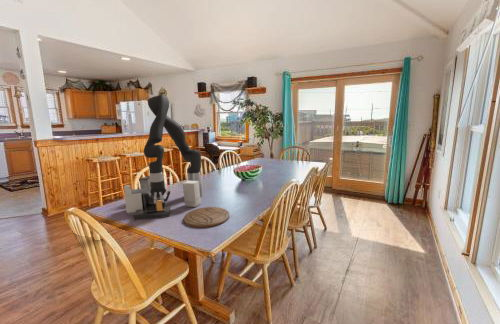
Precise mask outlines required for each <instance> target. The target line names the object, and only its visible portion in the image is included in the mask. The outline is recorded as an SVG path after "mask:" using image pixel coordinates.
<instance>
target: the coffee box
mask: <svg viewBox="0 0 500 324" xmlns="http://www.w3.org/2000/svg"><path fill="white" fill-rule="evenodd" d="M138 180H139V187H140V188H139V189H144V188H151V185H150V175H146V176H143V177H141V178H139V179H138Z"/></svg>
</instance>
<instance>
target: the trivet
mask: <svg viewBox="0 0 500 324" xmlns="http://www.w3.org/2000/svg"><path fill="white" fill-rule="evenodd" d="M229 218H230V212H229V211H228V210H227V209H226V208H222V207H217V206H207V207H206V206H205V207H199V208H196V209H192V210H191V211H188V213H186V214H185V215H184V216H183V222H184V224H185V225H186V226H189V227H191V228H199V229H202V228H203V229H204V228H212V227H218V226H220V225H222V224H224V223H226V222H227V221H228V220H229Z"/></svg>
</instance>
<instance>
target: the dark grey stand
mask: <svg viewBox="0 0 500 324" xmlns="http://www.w3.org/2000/svg"><path fill="white" fill-rule="evenodd" d="M150 191H151V188H144V189H141V188H135V189H133V188H132V189H131V194H139V193H141V196H142V205H143V209H152V208H155V207H154V203H151V202H150V201H149V199H148V198H147V196H146V194H147V193H149V192H150ZM151 197H152V199H153V200H154V196H153V195H152V194H151ZM157 200H161V197H157ZM134 213H135V212H131V213H127V214H128V216H131V215H132V216H133V215H134Z"/></svg>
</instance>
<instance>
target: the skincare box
mask: <svg viewBox="0 0 500 324" xmlns="http://www.w3.org/2000/svg"><path fill="white" fill-rule="evenodd" d="M182 191H183V192H182V193H183V197H184V198H183V201H184V206H185V207H192V208H196V207H198V206H199V205H201V204H202V203H201V196H200V192H199V182H198V181H188V180H186V181H184V182H182Z"/></svg>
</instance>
